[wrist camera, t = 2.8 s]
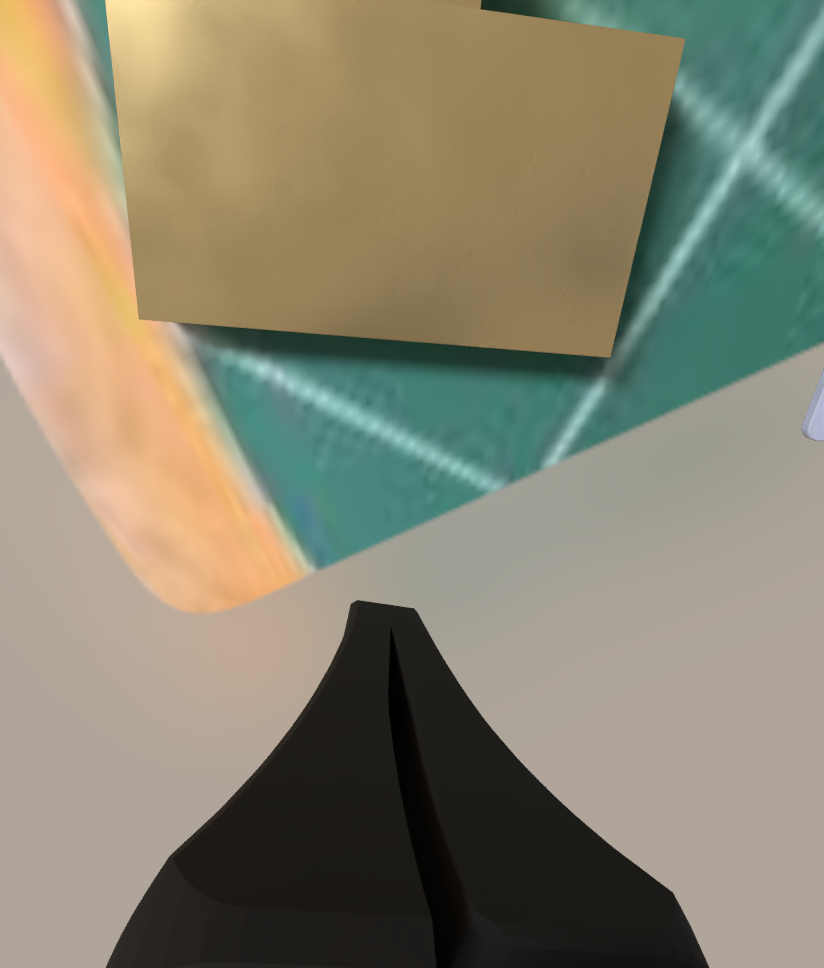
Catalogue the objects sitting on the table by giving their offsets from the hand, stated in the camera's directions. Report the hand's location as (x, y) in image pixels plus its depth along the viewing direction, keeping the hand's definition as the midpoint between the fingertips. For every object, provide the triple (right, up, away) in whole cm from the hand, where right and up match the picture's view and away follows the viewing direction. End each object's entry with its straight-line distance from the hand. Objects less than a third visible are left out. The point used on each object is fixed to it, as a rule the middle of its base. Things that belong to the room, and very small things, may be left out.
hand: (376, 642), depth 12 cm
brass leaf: (0, +14, +4) cm, 15 cm away
